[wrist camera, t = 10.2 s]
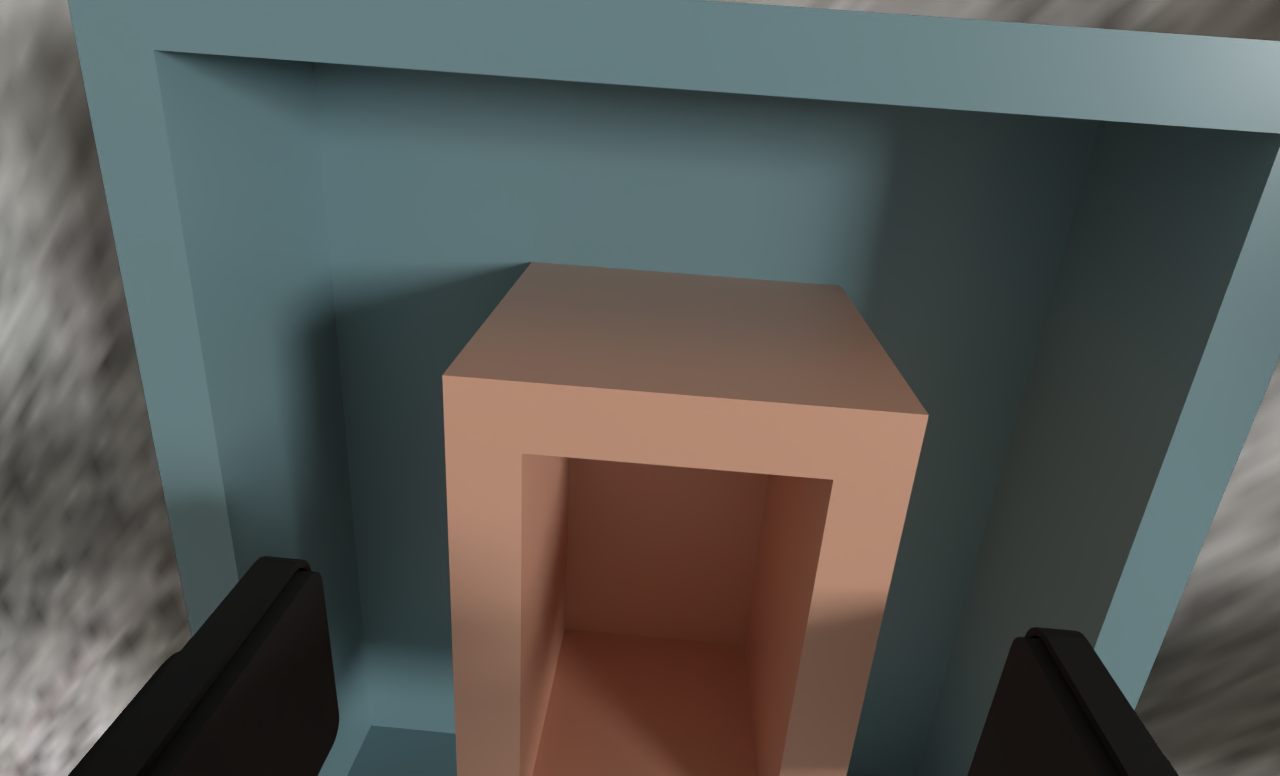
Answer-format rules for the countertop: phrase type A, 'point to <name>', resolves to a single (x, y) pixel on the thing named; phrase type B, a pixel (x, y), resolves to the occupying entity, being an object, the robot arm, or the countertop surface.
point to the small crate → (670, 524)
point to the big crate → (703, 245)
